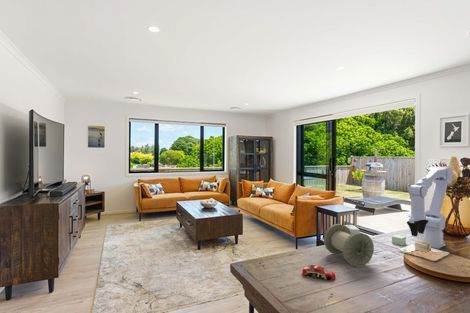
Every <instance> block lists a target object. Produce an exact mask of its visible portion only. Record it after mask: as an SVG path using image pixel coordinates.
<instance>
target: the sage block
mask: <svg viewBox="0 0 470 313" xmlns="http://www.w3.org/2000/svg"><path fill="white" fill-rule="evenodd" d="M391 244H394V245H398V246H404V245H406V244H407V236H404V235H399V234H394V235H392V236H391Z"/></svg>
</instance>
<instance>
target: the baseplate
mask: <svg viewBox="0 0 470 313" xmlns="http://www.w3.org/2000/svg"><path fill="white" fill-rule="evenodd" d="M411 251H416V250H415V243H411V244H409V245H407V246H404V247H402V248H399V249H398V252H399V253H402V254H405V253H407V252H411ZM431 251H433V252H441V253H447V254H449V255H450V251H449V252H448V251H444V250H440V249H437V248H433V247H431Z"/></svg>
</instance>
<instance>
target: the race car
mask: <svg viewBox="0 0 470 313" xmlns="http://www.w3.org/2000/svg"><path fill="white" fill-rule="evenodd" d="M301 271H302V272H301V274H302V275H304V276H305V277H307V276H309V277H308V278H314V277H315V278H314V279H320V278H321V279H320V280H327V281H330V280H331V281H334V280H335V279H336V273H335V272H334V271H333V270H330V269H327V268H324V267H323V266H321V265H315V264H314V265H313V264H309V265H303V268H302V270H301Z"/></svg>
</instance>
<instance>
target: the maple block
mask: <svg viewBox="0 0 470 313" xmlns="http://www.w3.org/2000/svg"><path fill="white" fill-rule="evenodd" d="M414 244H415V250H416V251H421V252H425V253H427V252H429V251H431V248H432V247H431V243H428V242H424V240H418V241H416V242H414Z"/></svg>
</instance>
